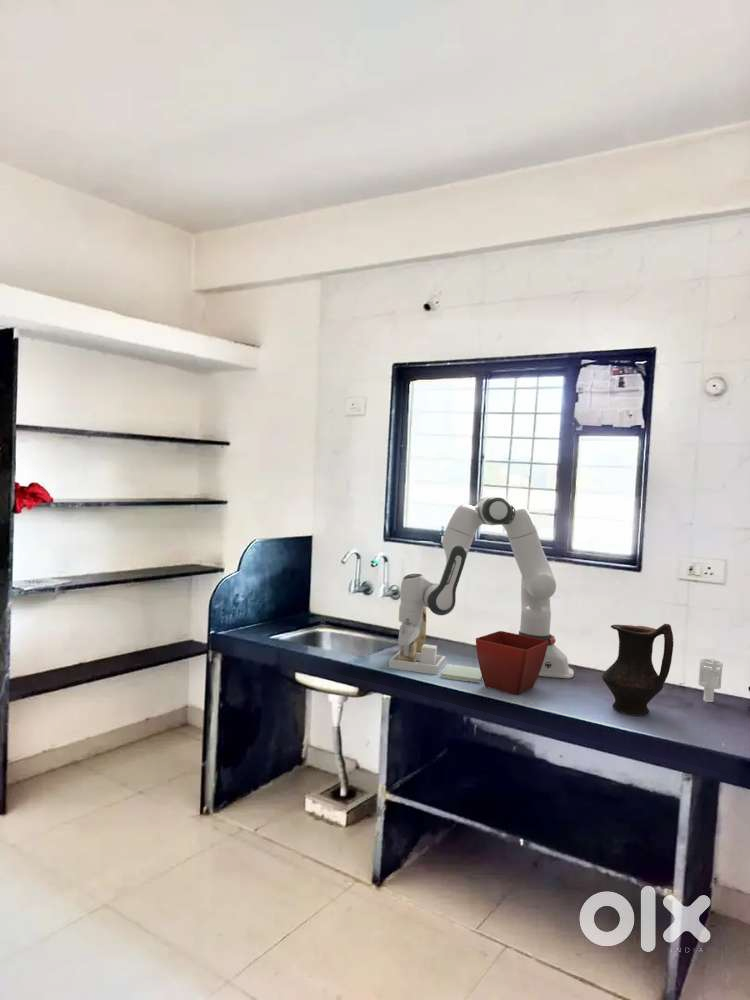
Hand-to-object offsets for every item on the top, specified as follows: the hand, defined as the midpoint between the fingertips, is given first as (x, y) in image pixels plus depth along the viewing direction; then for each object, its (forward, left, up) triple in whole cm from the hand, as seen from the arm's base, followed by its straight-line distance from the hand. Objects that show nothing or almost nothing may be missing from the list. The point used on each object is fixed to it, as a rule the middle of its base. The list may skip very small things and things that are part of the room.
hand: (408, 653), depth 259 cm
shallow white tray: (-4, 0, -4) cm, 6 cm away
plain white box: (-8, 0, -4) cm, 9 cm away
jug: (-79, +18, -4) cm, 81 cm away
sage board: (-22, +4, -4) cm, 23 cm away
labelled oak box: (0, 0, -4) cm, 4 cm away
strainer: (-105, -7, -4) cm, 105 cm away
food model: (+2, -18, -4) cm, 19 cm away
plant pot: (-39, +11, -4) cm, 41 cm away
